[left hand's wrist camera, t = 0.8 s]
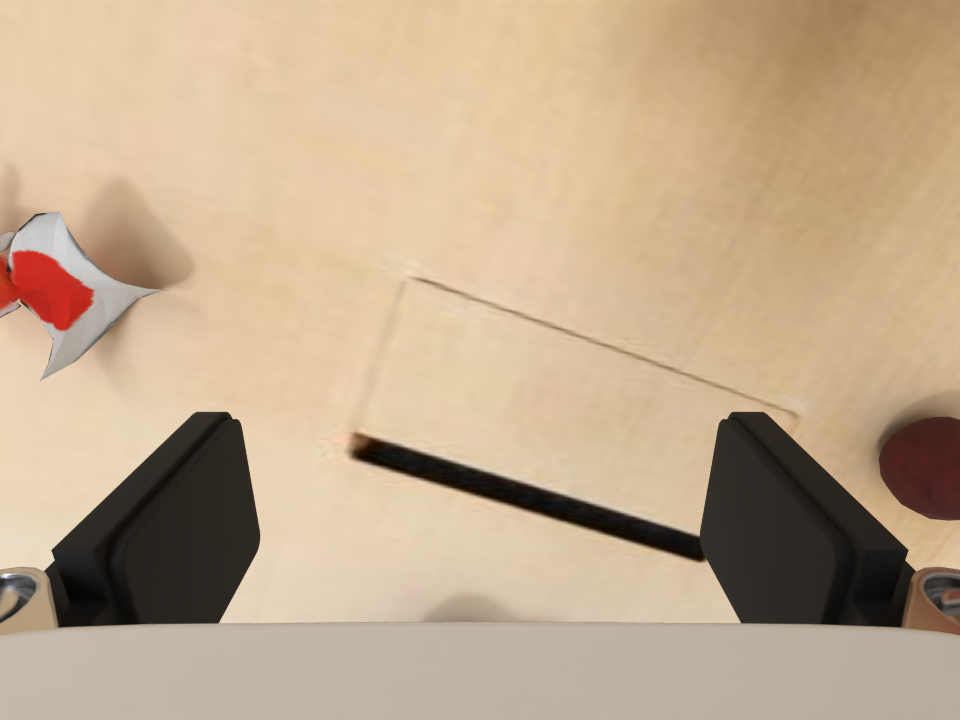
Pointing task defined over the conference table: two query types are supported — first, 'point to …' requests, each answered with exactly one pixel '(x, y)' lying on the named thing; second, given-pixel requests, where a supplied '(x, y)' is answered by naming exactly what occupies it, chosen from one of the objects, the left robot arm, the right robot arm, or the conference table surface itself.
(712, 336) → the conference table surface
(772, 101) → the conference table surface
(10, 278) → the fish
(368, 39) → the conference table surface
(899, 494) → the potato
